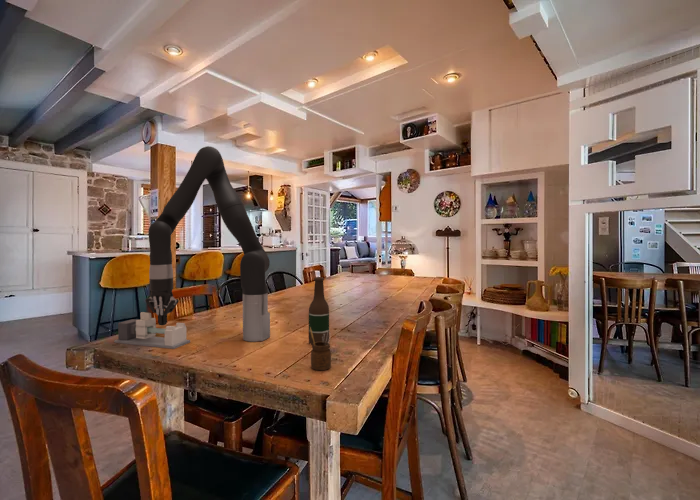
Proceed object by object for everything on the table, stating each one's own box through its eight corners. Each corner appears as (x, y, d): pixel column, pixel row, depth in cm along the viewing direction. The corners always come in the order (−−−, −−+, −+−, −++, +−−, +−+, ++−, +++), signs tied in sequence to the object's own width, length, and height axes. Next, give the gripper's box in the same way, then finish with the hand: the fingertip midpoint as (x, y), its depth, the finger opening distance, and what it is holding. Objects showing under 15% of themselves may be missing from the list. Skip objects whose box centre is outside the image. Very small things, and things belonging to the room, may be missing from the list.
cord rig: (190, 342, 126) (190, 322, 126) (173, 348, 119) (173, 328, 118) (133, 336, 133) (133, 318, 133) (114, 342, 126) (114, 322, 125)
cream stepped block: (155, 335, 128) (155, 311, 128) (145, 338, 124) (144, 314, 124) (147, 334, 129) (146, 311, 129) (136, 337, 125) (135, 313, 125)
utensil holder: (331, 370, 100) (331, 329, 100) (309, 371, 99) (309, 329, 99) (330, 363, 106) (331, 324, 105) (310, 363, 105) (310, 324, 105)
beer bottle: (333, 340, 129) (333, 276, 128) (323, 346, 122) (323, 279, 121) (315, 338, 132) (315, 275, 132) (304, 343, 125) (304, 277, 124)
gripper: (184, 276, 126) (185, 323, 127) (155, 275, 130) (156, 321, 130) (168, 278, 119) (169, 328, 119) (137, 277, 122) (139, 326, 123)
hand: (162, 324), depth 125 cm, fingers closed
